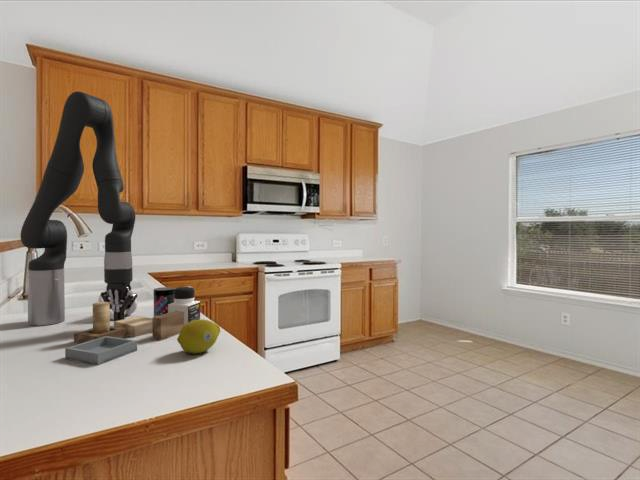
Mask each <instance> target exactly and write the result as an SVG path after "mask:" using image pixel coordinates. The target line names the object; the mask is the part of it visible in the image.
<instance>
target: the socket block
mask: <svg viewBox="0 0 640 480" xmlns="http://www.w3.org/2000/svg"><path fill="white" fill-rule="evenodd" d="M105 336H110V337H116V338H123V339H127V338H128V337H129V336H128V328H123V327H115V326H114V325H110V331H109V332H106V333H102V334H94V333H93V327H92V328H88V329H84V330H81V331H77V332H74V333H73V343H74V344H81V343H84V342H88V341H91V340H94V339H98V338H101V337H105Z"/></svg>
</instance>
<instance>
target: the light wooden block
mask: <svg viewBox="0 0 640 480" xmlns="http://www.w3.org/2000/svg"><path fill="white" fill-rule="evenodd" d="M152 318H153V317H152ZM152 318H151V317H146V316H142V315H138V316H133V317H128V318H125V319H123V320H118V321H114V320H113V326H115V327H123V328H128V337H132V338H137V337H140V336H144V335H149V334H153V327H152Z"/></svg>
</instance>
